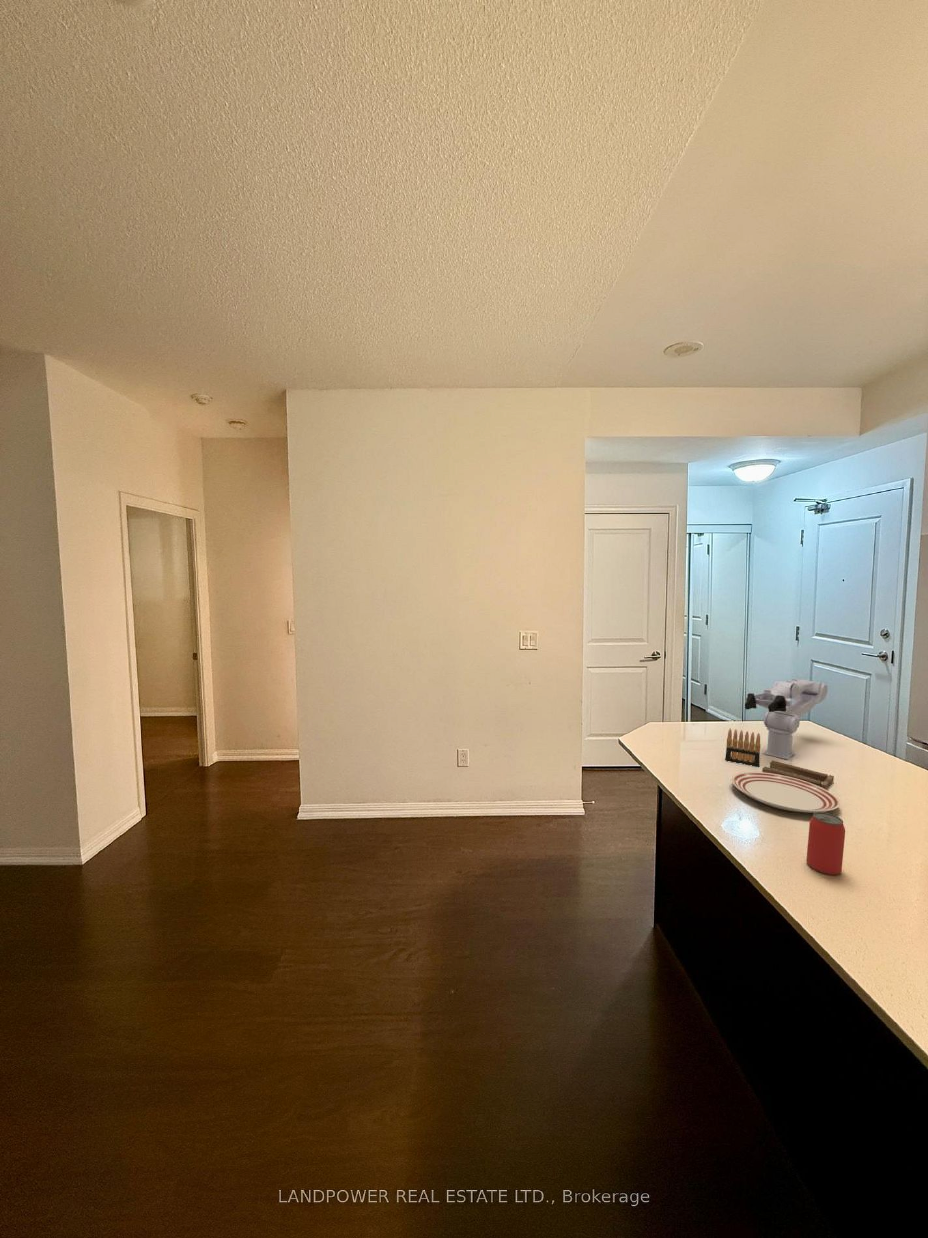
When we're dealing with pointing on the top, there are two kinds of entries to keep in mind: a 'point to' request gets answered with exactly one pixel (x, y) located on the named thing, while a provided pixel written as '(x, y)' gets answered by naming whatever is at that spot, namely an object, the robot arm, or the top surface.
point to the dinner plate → (785, 792)
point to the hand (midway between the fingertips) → (757, 707)
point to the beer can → (826, 843)
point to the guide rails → (800, 774)
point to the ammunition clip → (743, 749)
